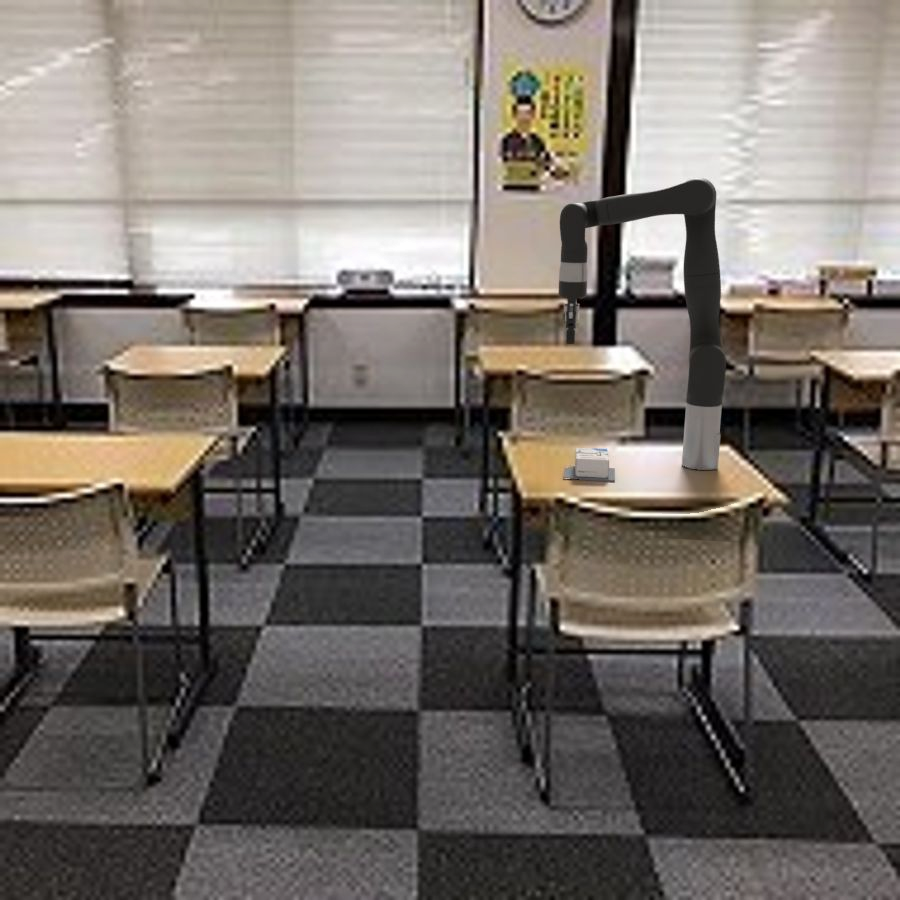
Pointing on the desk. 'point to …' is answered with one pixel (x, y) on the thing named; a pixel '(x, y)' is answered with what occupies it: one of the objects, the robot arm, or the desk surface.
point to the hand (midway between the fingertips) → (570, 343)
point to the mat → (570, 474)
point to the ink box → (591, 462)
